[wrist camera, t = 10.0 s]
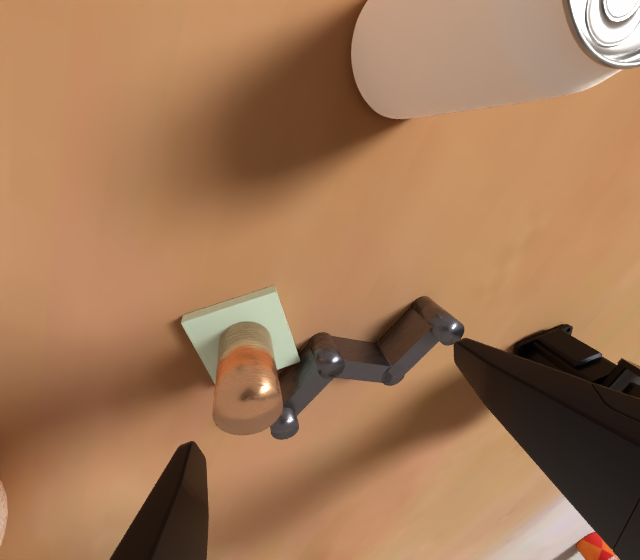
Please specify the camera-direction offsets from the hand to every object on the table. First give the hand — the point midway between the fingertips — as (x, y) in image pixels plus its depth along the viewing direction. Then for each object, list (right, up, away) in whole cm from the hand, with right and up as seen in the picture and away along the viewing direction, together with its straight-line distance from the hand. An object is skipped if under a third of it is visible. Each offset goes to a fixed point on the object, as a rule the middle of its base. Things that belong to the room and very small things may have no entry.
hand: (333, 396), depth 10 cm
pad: (-6, 0, +12) cm, 13 cm away
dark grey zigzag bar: (+2, -2, +15) cm, 15 cm away
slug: (-6, -1, +11) cm, 13 cm away
